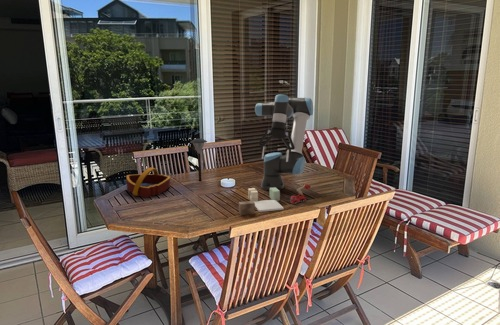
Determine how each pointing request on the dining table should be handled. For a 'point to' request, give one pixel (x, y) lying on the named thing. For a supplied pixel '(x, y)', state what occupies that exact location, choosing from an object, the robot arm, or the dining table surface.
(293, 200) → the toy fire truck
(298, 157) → the robot arm
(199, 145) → the solar garden light
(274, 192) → the sage brick
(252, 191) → the birch brick
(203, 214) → the dining table surface
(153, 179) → the decorative basket
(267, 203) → the grey plate
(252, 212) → the walnut brick
